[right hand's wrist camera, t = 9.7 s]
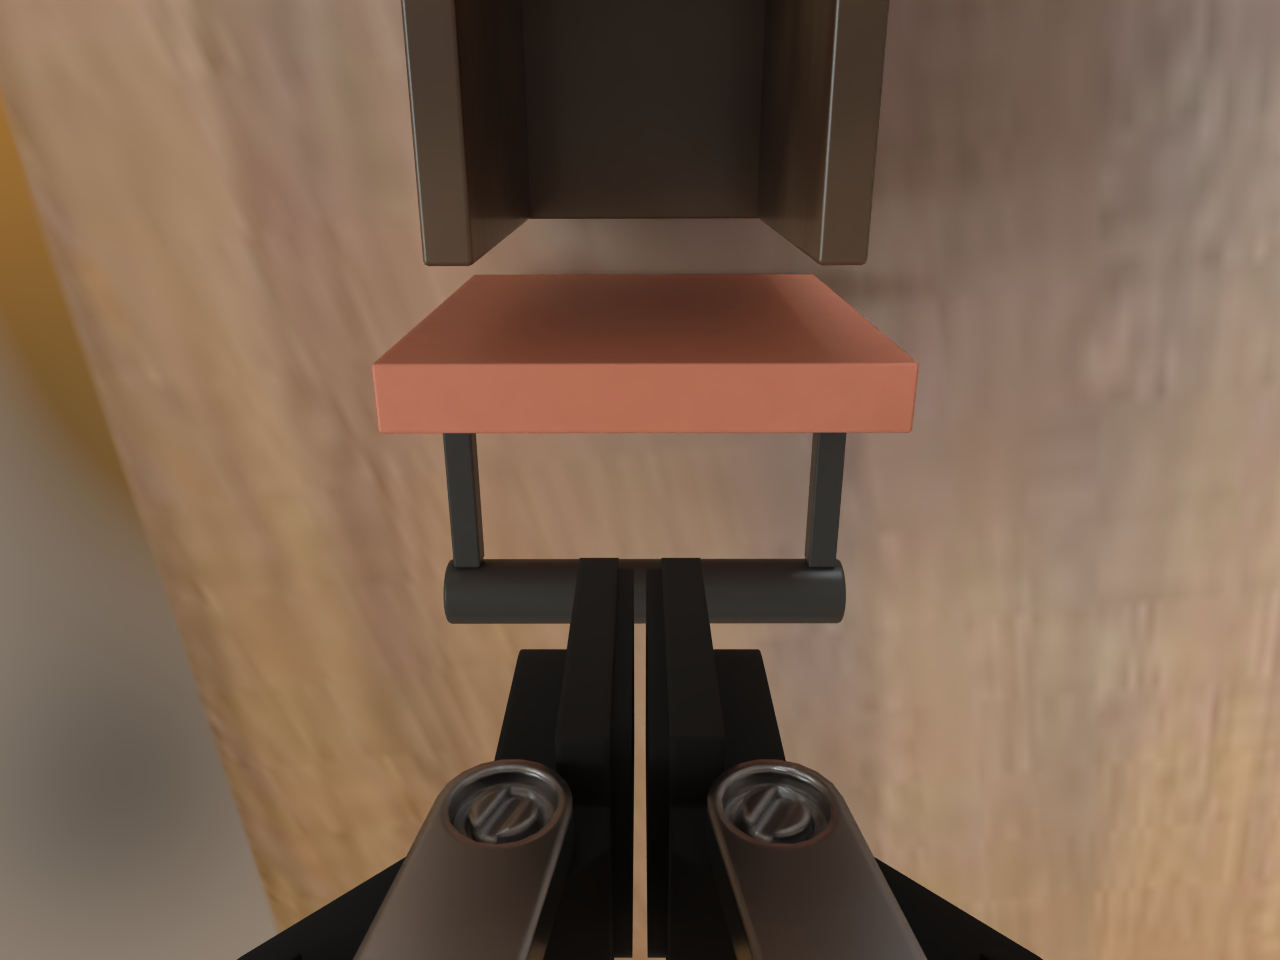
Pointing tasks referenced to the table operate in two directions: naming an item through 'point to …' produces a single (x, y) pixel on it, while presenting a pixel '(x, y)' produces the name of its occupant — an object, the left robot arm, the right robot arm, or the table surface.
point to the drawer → (645, 304)
